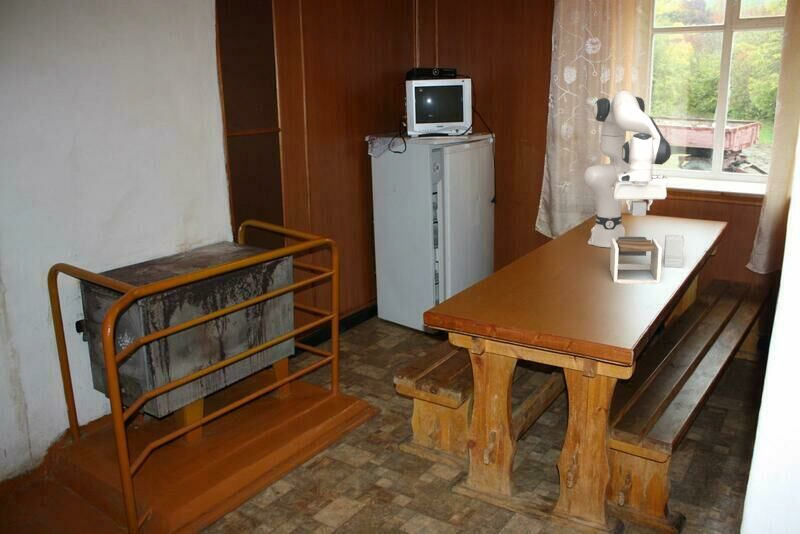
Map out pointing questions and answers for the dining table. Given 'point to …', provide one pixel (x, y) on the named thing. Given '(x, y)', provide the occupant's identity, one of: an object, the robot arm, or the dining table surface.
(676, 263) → the supplement box
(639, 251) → the trapdoor
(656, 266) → the frame
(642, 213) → the light grey cube
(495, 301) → the dining table surface
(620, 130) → the robot arm
